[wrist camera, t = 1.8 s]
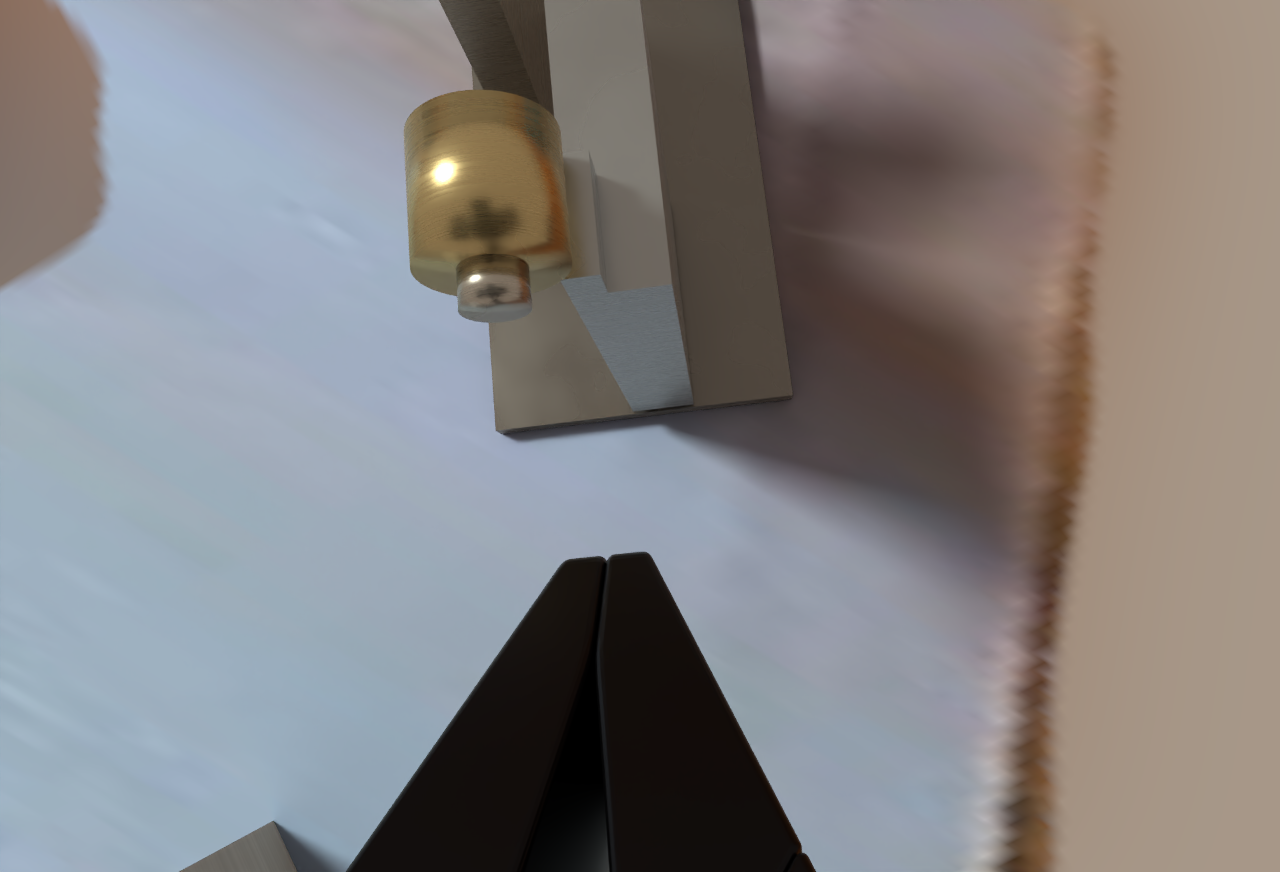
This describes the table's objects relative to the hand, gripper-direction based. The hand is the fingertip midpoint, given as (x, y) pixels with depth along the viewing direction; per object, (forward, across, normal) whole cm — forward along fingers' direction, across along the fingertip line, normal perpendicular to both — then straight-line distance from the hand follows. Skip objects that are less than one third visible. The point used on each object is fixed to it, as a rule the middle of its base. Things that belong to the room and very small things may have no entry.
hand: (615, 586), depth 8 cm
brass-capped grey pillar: (+14, +1, +4) cm, 15 cm away
